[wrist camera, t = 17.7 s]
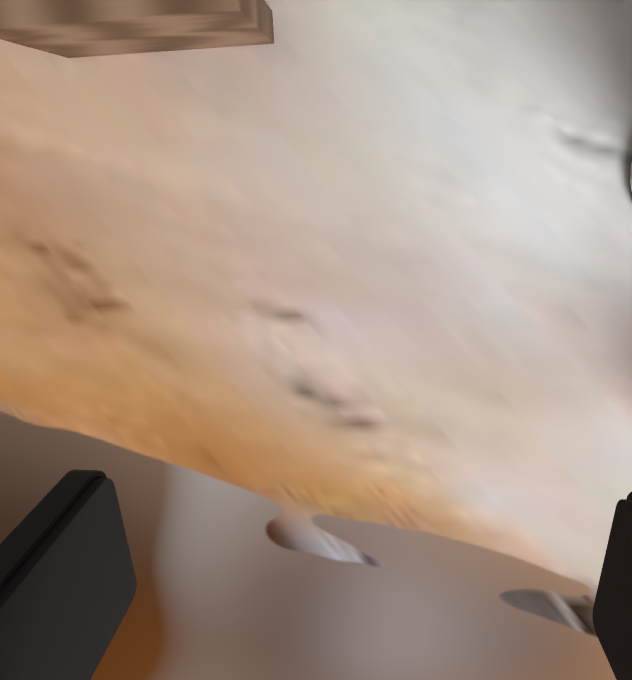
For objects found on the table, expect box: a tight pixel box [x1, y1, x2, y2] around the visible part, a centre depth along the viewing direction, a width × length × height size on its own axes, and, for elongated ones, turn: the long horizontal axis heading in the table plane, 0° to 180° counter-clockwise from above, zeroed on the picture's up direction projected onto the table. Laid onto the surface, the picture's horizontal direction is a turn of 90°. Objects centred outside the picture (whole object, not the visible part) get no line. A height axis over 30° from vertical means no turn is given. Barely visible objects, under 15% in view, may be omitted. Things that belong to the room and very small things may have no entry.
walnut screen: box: [0, 0, 274, 58], centre depth 32 cm, size 16×2×10 cm, turn 92°
